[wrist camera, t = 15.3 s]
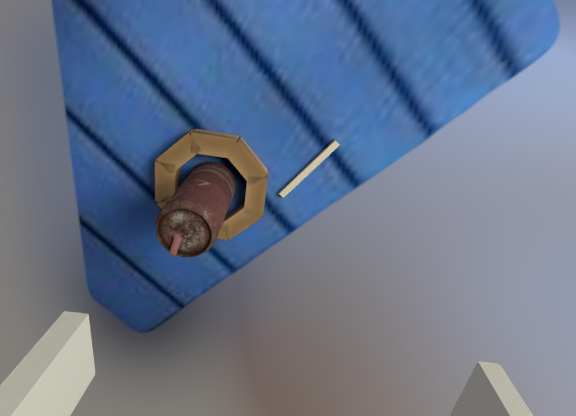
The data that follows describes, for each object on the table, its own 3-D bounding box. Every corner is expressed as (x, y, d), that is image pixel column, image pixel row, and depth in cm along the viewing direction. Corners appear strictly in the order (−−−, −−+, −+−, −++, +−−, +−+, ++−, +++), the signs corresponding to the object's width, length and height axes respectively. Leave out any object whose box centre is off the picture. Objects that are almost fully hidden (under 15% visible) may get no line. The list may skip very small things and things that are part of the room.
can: (185, 196, 47) (145, 251, 34) (197, 153, 45) (159, 196, 32) (228, 211, 48) (205, 270, 35) (242, 170, 46) (222, 217, 33)
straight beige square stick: (283, 196, 47) (283, 197, 46) (279, 192, 47) (278, 193, 46) (338, 143, 44) (339, 145, 43) (334, 139, 44) (335, 140, 43)
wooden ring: (160, 123, 43) (154, 126, 41) (272, 140, 44) (272, 144, 42) (160, 223, 49) (155, 230, 47) (260, 236, 50) (258, 244, 48)
